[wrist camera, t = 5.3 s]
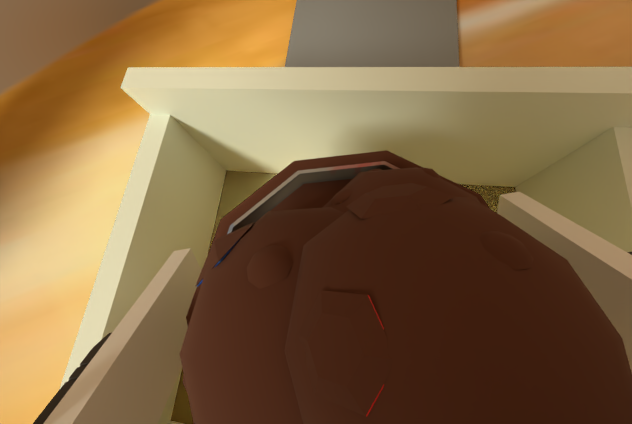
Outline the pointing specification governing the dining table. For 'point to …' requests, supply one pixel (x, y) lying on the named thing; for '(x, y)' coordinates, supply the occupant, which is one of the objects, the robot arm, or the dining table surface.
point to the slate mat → (374, 33)
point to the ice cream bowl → (392, 309)
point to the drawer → (357, 150)
